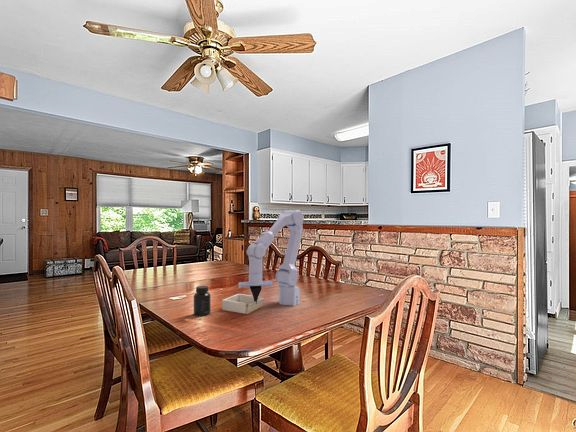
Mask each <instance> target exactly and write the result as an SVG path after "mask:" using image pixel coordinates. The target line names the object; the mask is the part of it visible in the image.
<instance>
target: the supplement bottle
mask: <svg viewBox="0 0 576 432" xmlns="http://www.w3.org/2000/svg"><path fill="white" fill-rule="evenodd" d="M211 311H212V310H211V293H210V292H209V286H208V285H199V286H198V285H197V286H196V287H195V293H194V294H193V316H194V317H206V316H208V315H210V314H211V313H212V312H211Z"/></svg>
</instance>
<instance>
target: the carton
mask: <svg viewBox="0 0 576 432" xmlns="http://www.w3.org/2000/svg"><path fill="white" fill-rule="evenodd" d="M261 298H262V297H261V296H260V295H259V296H258V299H257V300H259V299H261ZM252 302H254V298H253V294H252V295H250V294H243V293H237V294H234V295H231V296H229V297H227V298H223V299H222V300H221V310H222V311H225V312H226V311H227V312H234V313H237V314H246V313H247V309H248V305H249V304H250V303H252ZM246 315H247V314H246Z"/></svg>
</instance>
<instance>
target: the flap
mask: <svg viewBox="0 0 576 432" xmlns="http://www.w3.org/2000/svg"><path fill="white" fill-rule="evenodd" d="M264 300H265V297H261V299H259V300H257V304H256V302H255V301H254V302H252V303H250V304H249V305H248V309H247V313H246V315H249V314H251V313H252V312H255V311H256V310H258V309H260V308H262V307H263V305H264Z"/></svg>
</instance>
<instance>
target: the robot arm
mask: <svg viewBox="0 0 576 432" xmlns="http://www.w3.org/2000/svg"><path fill="white" fill-rule="evenodd" d="M304 218H305V217H304V214H303V213H302V211H301V210H299V209H295V210H287V209H286V210H285V209H284V210H283V211H282V212H281V213H280V214H278V218H277V220H275V222H274V223H273V225H272V226H271V227H270V229H268V231H266V230H265V231H263V232H261V233H260V236H258V238H257V239H256V240H255V241H254V243H252V244H249V246H247V249H246V251H245V252H246V255H247V256H248V261H249V262H248V263H249V264H248V268H249V270H248V276H249V277H248V281H240V282H238V288H239V289H241V288H249V289H250V291H251V293H252V296H253V298H254V301H255V302H256V304H257V299H258V296H259V297H260V294H261V291H262V288H263V287H269V288H270V287H272V288H273V286H274V285H273V284H274V282H273V280H272V281H271V280H270V281H268V280H267V281H266V280H263V268H264V267H263V259H264V256H265V255H266V253H267V249H268V248H269V247H270V245H271V244H273V242H274V241H275V236H276V235H277V234H279V232H280V231H281V230H282V229H283V228H284V227H285V226H286V227H287V228H288V229H289V231H290V233H289V237H288V242H287V245H286V246H287V247H286V251H285V255H284V258H283V263H281V264H280V265H279V266H278V270H277V271H276V273H275V281H276V282H277V285H278V304H279V305H282V306H292V307H295V306H297V305H298V304H300V303H301V299H300V298H301V296H300V295H301V290H300V287H299V286H296V284H298V283H297V282H298V280H299V277H298V274H299V273H298V272H299V270H298V269H297V268H296V261H297V257H298V253H299V249H300V244H301V239H302V235H303V230H304V227H303V223H304V220H305V219H304Z"/></svg>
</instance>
